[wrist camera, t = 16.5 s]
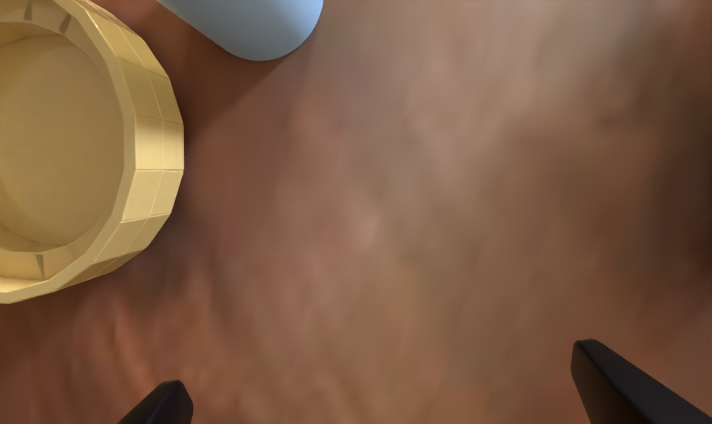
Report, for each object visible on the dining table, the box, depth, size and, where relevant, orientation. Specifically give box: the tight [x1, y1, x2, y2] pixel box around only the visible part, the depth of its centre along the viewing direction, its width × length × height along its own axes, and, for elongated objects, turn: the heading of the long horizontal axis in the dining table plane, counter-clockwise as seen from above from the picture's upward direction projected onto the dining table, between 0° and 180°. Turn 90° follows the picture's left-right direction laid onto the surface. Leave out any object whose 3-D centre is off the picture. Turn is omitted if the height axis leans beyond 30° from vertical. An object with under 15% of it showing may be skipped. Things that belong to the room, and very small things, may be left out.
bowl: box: [0, 0, 184, 304], centre depth 20 cm, size 15×15×4 cm
